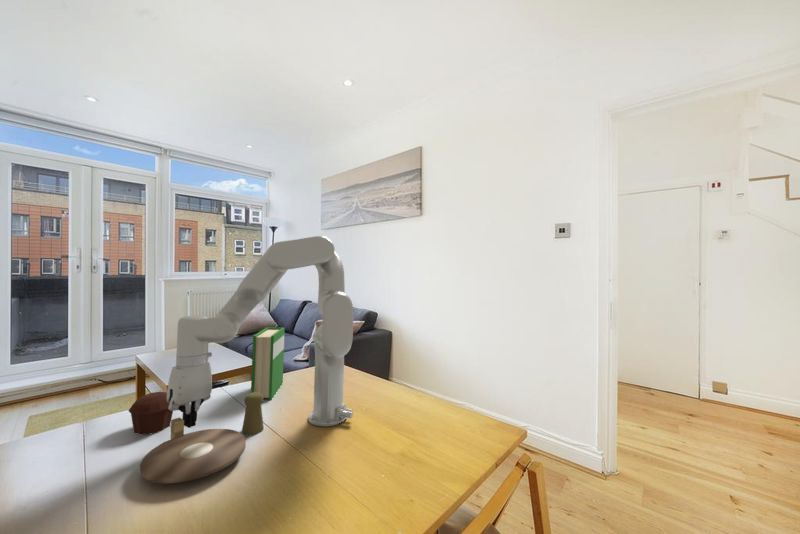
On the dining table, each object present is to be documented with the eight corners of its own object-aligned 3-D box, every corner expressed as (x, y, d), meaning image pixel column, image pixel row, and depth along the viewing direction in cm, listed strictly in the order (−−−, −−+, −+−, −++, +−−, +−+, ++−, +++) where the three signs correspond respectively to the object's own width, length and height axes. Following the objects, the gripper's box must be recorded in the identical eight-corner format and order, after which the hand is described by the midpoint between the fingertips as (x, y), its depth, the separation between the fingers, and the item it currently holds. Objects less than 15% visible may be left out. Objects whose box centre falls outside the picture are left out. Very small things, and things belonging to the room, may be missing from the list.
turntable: (261, 435, 89) (262, 417, 90) (207, 487, 68) (208, 463, 68) (184, 429, 91) (185, 411, 92) (108, 478, 70) (109, 455, 70)
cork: (255, 436, 93) (256, 398, 93) (237, 433, 94) (238, 396, 94) (267, 426, 99) (269, 391, 99) (250, 424, 100) (251, 389, 100)
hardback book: (271, 400, 119) (273, 335, 119) (250, 400, 118) (253, 335, 118) (282, 383, 136) (284, 327, 137) (264, 384, 135) (266, 327, 136)
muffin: (161, 416, 104) (162, 385, 104) (184, 422, 100) (185, 390, 100) (118, 432, 93) (119, 398, 93) (142, 440, 89) (143, 404, 89)
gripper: (210, 352, 98) (208, 412, 98) (154, 364, 85) (151, 433, 85) (225, 356, 95) (223, 418, 94) (170, 368, 81) (166, 441, 81)
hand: (189, 425), depth 89 cm, fingers closed
